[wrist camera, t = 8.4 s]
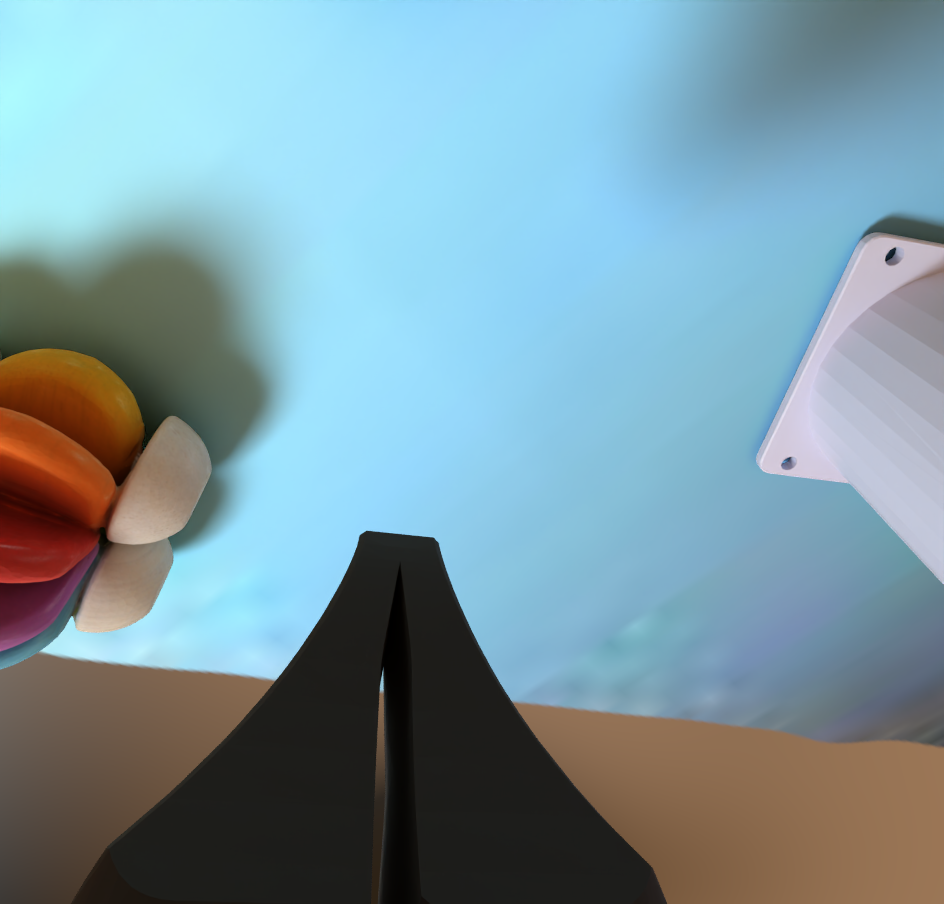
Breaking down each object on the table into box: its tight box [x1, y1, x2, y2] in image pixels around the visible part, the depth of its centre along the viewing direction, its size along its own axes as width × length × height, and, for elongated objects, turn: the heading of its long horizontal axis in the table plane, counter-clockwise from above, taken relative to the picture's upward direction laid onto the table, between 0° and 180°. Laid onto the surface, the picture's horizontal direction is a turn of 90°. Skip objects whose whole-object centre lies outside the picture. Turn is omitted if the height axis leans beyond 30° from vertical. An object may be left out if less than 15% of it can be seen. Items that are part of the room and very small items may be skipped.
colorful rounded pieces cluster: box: [0, 348, 212, 669], centre depth 19 cm, size 8×10×7 cm
